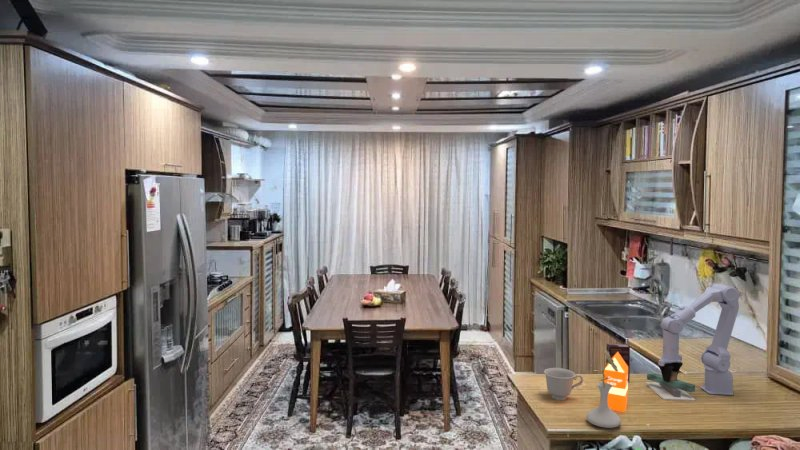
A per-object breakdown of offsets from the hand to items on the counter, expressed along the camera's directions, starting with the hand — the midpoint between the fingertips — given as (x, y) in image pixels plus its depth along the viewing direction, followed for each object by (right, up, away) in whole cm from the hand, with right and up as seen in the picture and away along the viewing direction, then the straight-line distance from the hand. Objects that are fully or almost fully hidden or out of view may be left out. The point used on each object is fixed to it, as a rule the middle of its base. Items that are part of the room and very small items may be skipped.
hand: (669, 380), depth 205 cm
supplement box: (-16, -5, +13) cm, 21 cm away
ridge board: (0, -5, 0) cm, 5 cm away
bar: (0, -2, 0) cm, 2 cm away
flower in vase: (-39, -6, -29) cm, 49 cm away
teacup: (-46, -5, -7) cm, 47 cm away
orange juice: (-28, -6, -14) cm, 32 cm away
